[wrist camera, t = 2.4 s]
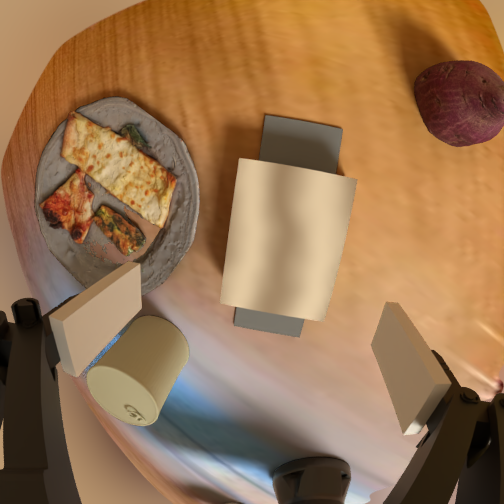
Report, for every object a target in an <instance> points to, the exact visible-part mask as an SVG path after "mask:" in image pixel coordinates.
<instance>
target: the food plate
mask: <svg viewBox="0 0 504 504" xmlns="http://www.w3.org/2000/svg"><path fill="white" fill-rule="evenodd" d="M128 100H129V99H126V98H122V97H118V96H115V97H108V98H103V99H101V100H98V101H95V102H93V103H91V104H88V105H85V106H81V107H79V108H78V109H76V111H71V112H70V113H69V115H68V118H67V119H66V120H64V121H63V122H62V123H61V124H60V125H59V126H58V127H57V129H56V131H55V132H54V133H53V135H52V136H51V139H50V140H49V142H48V143H47V145H46V146H45V148H44V150H43V152H42V155H41V158H40V161H39V164H38V168H37V173H36V182H35V200H34V202H35V212H36V215H37V218H38V221H39V224H40V230H41V233H42V234H43V237H44V238H45V241H46V243H47V246H48V248H49V250H50V252H51V253H52V254H53V255H54V256H55V257H56V259H57V260H58V261H59V262H60V263H61V264H62V265H63V266H64V267H65V268H66V269H67V270H68V271H69V273H71V274H72V276H74V277H75V278H76V279H77V280H78V281H79V282H80V283H81V284H82V285H83V284H84V286H85V288H87V289H88V288H89V287H91V286H92V285H93V284H95V283H96V282H98V281H99V280H101V279H102V278H104V277H105V276H107V275H108V274H110V273H111V272H113V271H114V270H116V269H117V268H119V267H120V266H122V265H123V264H120V263H118V262H117V263H116V264H117V265H116V264H112V261H110V260H108V259H106V258H103V260H104V261H105V262H103V261H102V260H100V258H98V257H96V252H94V251H93V252H94V253H95V254H93V253H92V251H91V250H90V243H91V242H92V243H93V245H94V246H95V245H96V241H97V243H98V244H100V245H101V246H102V250H103V251H104V252H105V253H106V254H107V252H106V247H105V249H103V248H104V244H109V243H108V242H111V244H115V245H116V247H117V249H118V250H119V251H120V252H121V253H122V254H123V255H126V256H128V257H129V256H130V255H129V254H130V253H132V252H133V251H135V252H139V250H140V249H141V248H142V247H143V246H144V245H143V243H144V244H145V242H146V237H144V235H143V233H141V232H140V230H139V229H138V228H137V227H136V226H135V225H134V224H133V223H132V222H131V220H130V219H129V220H130V221H129V220H128V219H127V218H128V217H127V216H128V215H127V216H125V212H124V205H125V206H126V209H129V210H130V211H132V212H134V213H137V215H139V216H140V217H141V218H145V219H146V220H148V221H149V222H151V223H153V225H157V226H158V227H159V228H162V229H161V230H160V231H159V234H158V235H157V236H156V238H155V239H154V241H153V242H152V244H151V246H150V247H149V248H148V249H147V252H146V253H145V254H144V255H142V256H141V257H139V258H138V259H137V260H136V259H134V260H133V262H135V263H140V273H141V296H142V295H144V294H147V293H149V292H150V291H152V290H154V289H155V288H156V287H158V286H159V285H161V283H162V284H163V282H164V280H167V277H169V276H170V275H171V273H172V272H173V271H174V269H175V268H176V266H177V265H178V264H179V263H180V261H181V260H182V258H183V257H184V256H185V253H186V252H187V251H188V249H189V248H190V247H191V245H192V243H193V241H194V237H195V232H196V231H195V230H196V226H197V223H196V222H197V220H198V215H199V213H198V212H199V202H200V199H199V195H200V194H199V188H198V187H199V183H198V182H199V181H198V178H197V174H196V169H195V168H194V163H192V162H193V161H192V160H191V157H190V155H189V153H188V150H187V147H186V144H185V143H184V140H183V141H182V140H181V139H179V138H178V137H179V136H178V135H177V136H176V134H175V133H174V132H173V131H171V130H170V129H168V128H167V127H166V126H164V125H163V124H162V123H160V122H159V121H158V120H157V119H155V118H154V117H153V116H151V115H150V114H148V113H147V112H145V111H144V110H143V109H141V108H140V107H139V106H137V105H136V104H133V102H132V101H131V102H130V101H128ZM88 182H90V183H91V187H89V186H88ZM120 212H121V214H120ZM102 238H103V239H102ZM93 240H95V241H93ZM84 242H86V243H87V242H89V244H86V245H85V244H84ZM84 247H85V248H86V249H88V250H86V249H84ZM91 247H92V246H91ZM86 251H87V253H86ZM79 252H80V253H79ZM89 252H91V254H92V255H94V257H92V256H91V255H90V254H89ZM101 257H102V256H101ZM101 259H102V258H101ZM123 260H124V259H123ZM127 262H128V261H127Z"/></svg>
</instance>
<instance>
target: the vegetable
mask: <svg viewBox="0 0 504 504" xmlns="http://www.w3.org/2000/svg"><path fill="white" fill-rule="evenodd" d="M414 92H415V97H416V101H417V104H418V107H419V110H420V113H421V116H422V118H423V122H424V123H425V125H426V126H427V128H428V130H429V132H430V133H431V134H433V135H434V136H435V137H436V138H438V139H439V140H441V141H443V142H445V143H447V144H449V145H451V146H456V147H462V146H470V145H472V144H478V143H483V142H486V141H488V140H490V139H492V138H493V137H495V136H496V135H497V134H498V133H499V132H500V130H501V129H502V127H503V126H504V82H503V81H502V79H501V78H500V77H499V76H498V75H497V74H496V73H495V72H494V71H493V70H491V69H490V68H489V67H487V66H485V65H483V64H481V63H478V62H474V61H449V62H443V63H439V64H437V65H434V66H432V67H430V68H428V69H426V70H425V71H423V72H422V73H421V74H420V75H419V76H418V77H417V79H416V81H415V86H414Z"/></svg>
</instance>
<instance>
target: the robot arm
mask: <svg viewBox="0 0 504 504" xmlns="http://www.w3.org/2000/svg"><path fill="white" fill-rule="evenodd" d="M11 308H12V312H13V316H14V320H15V323H10V322H8V321H7V318H6V314H5V312H3V311H0V429H1V425H2V421H4V422H3V448H4V468H3V469H2V470H0V504H82V503H81V500H80V497H79V494H78V490H77V487H76V483H75V480H74V476H73V472H72V468H71V463H70V459H69V455H68V450H67V445H66V439H65V434H64V428H63V421H62V414H61V407H60V398H59V387H58V375H57V369H56V364H58V363H59V362H60V361H61V365H62V368H63V370H64V372H66V373H68V374H70V375H72V376H74V377H76V378H77V377H78V376H79V375H80V374H81V373H82V372H83V370H84V369H85V368H86V367H87V366H88V365H89V364H90V363H91V362H92V361H93V359H94V358H95V357H96V356H97V355H98V354H99V353H100V352H101V351H102V350H103V349H104V348H105V347H106V345H107V344H108V343H109V342H110V341H111V340H112V339H113V338H114V337H115V336H116V335H117V334H118V333H119V332H120V331H121V330H122V328H123V327H124V326H125V325H126V324H127V323H128V322H129V321H130V320H131V319H132V318H133V317H134V316H135V315H136V314H137V313H138V312H139V311H140V310H141V309H142V302H141V273H140V263H135V262H130V261H128V262H127V263H125V264H123V265H122V266H120V267H119V268H117V269H116V270H114V271H113V272H111V273H110V274H108V275H107V276H105V277H104V278H102V279H101V280H99V281H98V282H96V283H95V284H93V285H92V286H91V287H89V288H88V289H86V290H85V291H83V292H82V293H80V294H77V295H74V296H71V297H69V298H68V299H66V300H65V301H64V302H63V303H61V304H59V305H58V307H55V308H54V309H52V310H51V311H49V312H48V313H47V314H45V315H44V316H42V315H41V310H40V306H39V301H38V300H36V299H34V298H23V299H20V300H18V301H16V302H14V303H13V304H12V306H11ZM371 347H372V349H373V352H374V354H375V357H376V359H377V362H378V364H379V367H380V370H381V372H382V375H383V378H384V380H385V383H386V386H387V389H388V391H389V394H390V397H391V400H392V403H393V406H394V408H395V411H396V414H397V417H398V420H399V423H400V426H401V429H402V433H403V435H409V434H419V432H420V431H421V430H422V428H423V427H424V426H425V424H426V425H427V427H428V432H427V433H426V434H425V436H424V437H423V438H422V440H421V441H420V442H419V444H418V445H417V446H416V447H417V448H418V449H417V451H416V453H415V454H414V456H413V458H412V460H411V461H410V463H409V465H408V466H407V468H406V470H405V471H404V473H403V474H402V476H401V478H400V479H399V481H398V482H397V484H396V485H395V487H394V488H393V490H392V491H391V493H390V494H389V496H388V497H387V498H386V500H385V501H384V503H383V504H448V502H449V500H450V498H451V496H452V493H453V491H454V489H455V486H456V484H457V481H458V479H459V481H458V489H457V495H456V502H455V504H504V393H499V394H496V396H495V397H494V398H493V400H492V401H491V402H485V401H480V397H479V395H478V394H477V393H476V392H475V391H473V390H472V389H470V388H466V387H461V386H460V385H459V383H458V381H457V380H456V378H455V377H454V375H453V373H452V372H451V370H449V367H448V366H447V365H446V363H445V361H444V360H443V358H442V357H441V356H440V355H439V354H438V353H437V352H436V351H434V350H430V348H429V347H428V345H427V344H426V342H425V341H424V339H423V338H422V336H421V335H420V333H419V332H418V330H417V329H416V327H415V326H414V324H413V323H412V322H411V320H410V319H409V317H408V316H407V314H406V313H405V312H404V310H403V309H402V307H401V306H400V305H399V303H394V302H386V303H385V306H384V309H383V312H382V315H381V318H380V321H379V324H378V327H377V330H376V333H375V335H374V338H373V341H372V344H371ZM3 418H4V420H3ZM489 444H490V445H489ZM350 481H351V471H350V467H349V465H348V464H347V463H345V462H344V461H341V460H338V459H334V458H325V457H315V458H305V459H300V460H295V461H292V462H289V463H286V464H284V465H282V466H280V467H279V468H278V469H277V470H276V471H275V472H274V474H273V488H274V491H275V494H276V497H277V500H278V503H279V504H344V501H345V498H346V494H347V491H348V488H349V484H350Z"/></svg>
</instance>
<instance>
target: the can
mask: <svg viewBox="0 0 504 504" xmlns="http://www.w3.org/2000/svg"><path fill="white" fill-rule="evenodd" d="M188 358H189V346H188V343H187V341H186V339H185V337H184V336H183V334H182V333H181V332H180V330H179V329H178V328H177V327H176V326H174V325H173V324H172V323H170V322H169V321H167V320H165V319H163V318H160V317H156V316H142V317H139V318H137V319H136V320H134V321H133V322H132V324H131V325H130V327H129V328H128V330H127V331H126V332H125V333H124V334H123V335H122V336H121V337H120V338H119V339H118V340H117V342H116V343H115V344H114V345H113V346H112V347H111V348H110V349H109V350H108V351H107V352H106V353H105V354H104V355H103V356H102V358H101V359H100V360H99V361H98V362H97V363H96V364H95V365H94V366H93V367H91V368H90V369H89V371H88V373H87V377H86V380H87V385H88V388H89V390H90V392H91V394H92V396H93V397H94V399H95V400H96V401H97V403H98V404H99V405H100V406H101V407H102V408H103V409H104V410H106V411H107V412H108V413H109V414H111V415H112V416H114V417H115V418H117V419H119V420H121V421H123V422H126V423H128V424H132V425H136V426H147V425H150V424H152V423H154V422H155V421H156V420H157V418H158V415H159V413H160V410H161V408H162V406H163V404H164V402H165V400H166V398H167V396H168V394H169V392H170V390H171V389H172V387H173V385H174V383H175V381H176V379H177V377H178V375H179V373H180V372H181V370H182V368H183V367H184V365H185V364H186V363H187V361H188Z"/></svg>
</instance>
